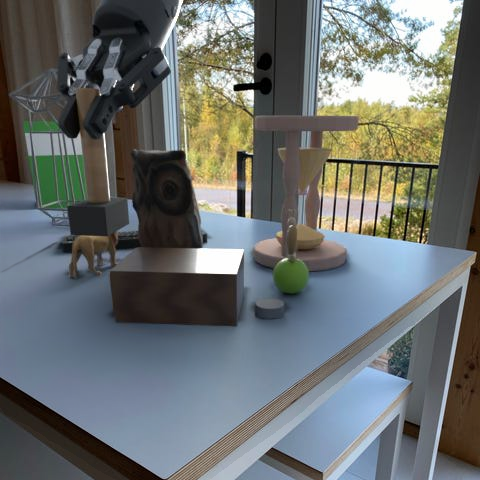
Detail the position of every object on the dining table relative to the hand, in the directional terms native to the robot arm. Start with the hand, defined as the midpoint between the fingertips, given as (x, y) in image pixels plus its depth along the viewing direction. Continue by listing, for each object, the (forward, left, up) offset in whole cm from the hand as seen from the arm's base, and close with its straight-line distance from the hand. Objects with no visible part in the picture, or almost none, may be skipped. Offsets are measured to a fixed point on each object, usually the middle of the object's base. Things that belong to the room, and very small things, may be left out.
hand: (78, 132), depth 47 cm
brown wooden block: (+7, +13, -23) cm, 27 cm away
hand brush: (0, +2, -10) cm, 10 cm away
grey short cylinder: (+19, +11, -22) cm, 31 cm away
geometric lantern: (-32, +68, -24) cm, 78 cm away
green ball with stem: (+22, +20, -24) cm, 38 cm away
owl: (+2, +35, -23) cm, 42 cm away
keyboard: (-11, +50, -23) cm, 57 cm away
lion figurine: (-12, +30, -24) cm, 40 cm away
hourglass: (+24, +40, -23) cm, 52 cm away
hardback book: (-45, +94, -23) cm, 107 cm away
